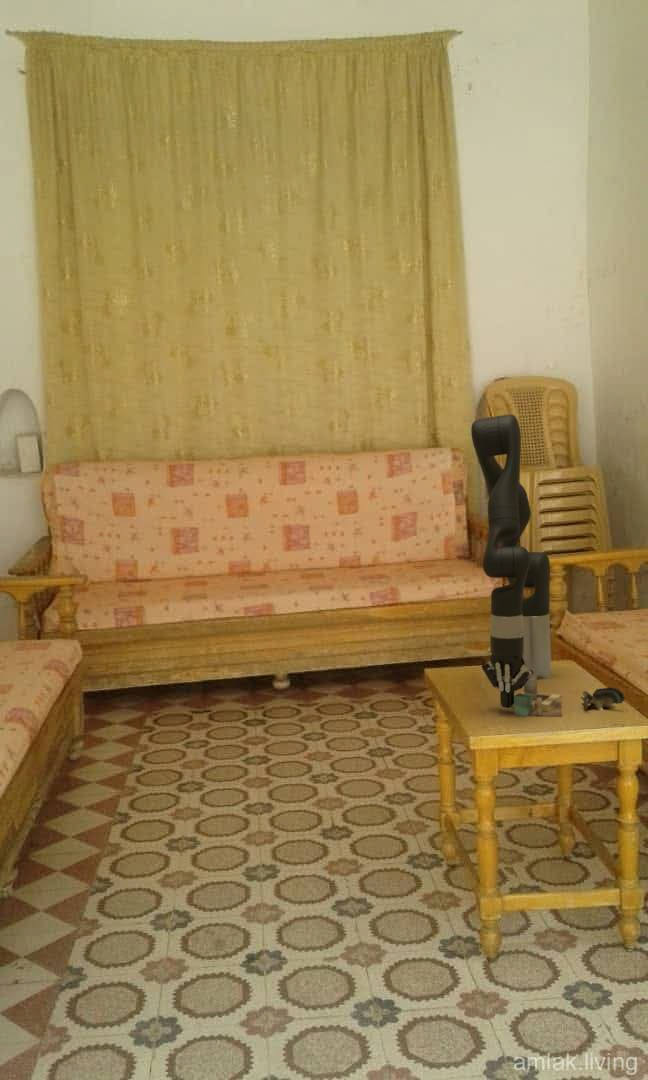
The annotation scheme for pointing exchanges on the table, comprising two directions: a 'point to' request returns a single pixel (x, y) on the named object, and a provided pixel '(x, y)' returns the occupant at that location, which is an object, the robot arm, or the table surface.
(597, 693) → the brown squirrel figurine
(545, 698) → the square frame with handle
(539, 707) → the dowel pin
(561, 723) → the table surface
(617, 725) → the table surface
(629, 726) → the table surface
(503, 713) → the post board
